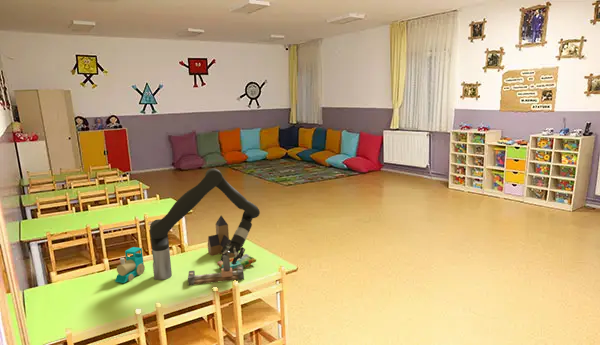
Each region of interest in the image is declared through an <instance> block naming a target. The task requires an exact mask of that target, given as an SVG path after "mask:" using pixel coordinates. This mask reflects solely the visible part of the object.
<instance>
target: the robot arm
mask: <svg viewBox="0 0 600 345" xmlns="http://www.w3.org/2000/svg"><path fill="white" fill-rule="evenodd" d="M215 187H216V188H218V189H219V190H220V191H221V192H222V194H224V195H225V196H226V198H228V200H230V201H231V203H233V204H234V206H235V207H237V208H238V209H239V210H243V212H242V216H241V221H240V222H239V225H238V226H237V228H236V230H235V231H234V233H233V236H232V237H231V239H230V240H231V243H230V244H227V243H225V245H224V247H223V249H222V250H221V252H222V253H223V255H227V254H230V253H234V254H235V257H234V259H233V261H232V264H233V265H235V264H236V262H237V260H238V259H239V258H240V259H241V258H242V256H243V255H244V254H245V251H246V248H245V247H244V245H245V242H246V240H247V237H248V235H249V233H250V230H251V229H252V226H253V224H252V221H253V219H256V218H258V217H259V216H260V214H261V212H260V209H259V207H258V206H257V205H256V204H254V203H253V202H252V201H250V200H248V199H247V198H246V197H245V196H244V195H243V194H241V192H239V191H238V190H237V189H236V188H235V187H234V186H232V185H231V184H230V183H229V182H228V181H227V179H225V177H224V175H223V173H222V172H221V170H219V169H218V168H215V167H214V168H209V169H207V171H206V172H205V175H204V177H203V178H202V180H200V182H199V183H198V184H196V185H195V186H194V187H192V188H191V189H189V190H188V191H186V192H185V193H184V194H182V195H181V196H180V197H179V198H178V199H177V200H176V201H175V202H174V204H173V205H172V207H171V208H170V209H169V211H168V213H167V214H165V215H164V217H162V218H160V219H158V218H157V219H155V220H152V222H151V223H150V225H149V233H150V243H151V251H152V252H151V254H152V261H153V262H152V270H153V279H154V280H167V279H170V278H171V277H172V274H173V272H172V263H171V255H170V254H171V253H170V252H171V251H170V242H169V232H170V231H171V230H172V228H174V226H175V225H176V224H177V223H179V221H181V220H182V219H183V218H184V217H185V216H186V215H188V214H189V213H190V212H191V211H192V210H193V209H194V208H195V207H196V206H197V205H198V204H199V203H200V202H201V200H202V199H204V197H205V196H206V195H207V194H208V193H210V192H211V191H212V190H213V189H214V188H215ZM228 250H229V251H228ZM226 252H227V253H226ZM223 255H221V256H220V261H222V262H223ZM240 255H241V256H240Z"/></svg>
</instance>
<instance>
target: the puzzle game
mask: <svg viewBox="0 0 600 345" xmlns="http://www.w3.org/2000/svg"><path fill="white" fill-rule="evenodd" d="M240 256H241V255H240ZM233 259H234V257H233V258H229V260H230V268H232V271H238V269H237V266H240V265H243V269H244V268H248V267H250V266H252V264H254V263H256V262H257V259H256V258H254V257H253V256H252V255H249V254H248V253H244V254H243V256H242V258H241V259H240V258H239V259H238V260H237V262H236V264H235V265H233V264H232V261H233ZM216 264H217V265H218V267H219V269H222V268H223V262H222V261H221V260H219V261H217V262H216Z"/></svg>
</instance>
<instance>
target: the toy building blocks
mask: <svg viewBox="0 0 600 345" xmlns="http://www.w3.org/2000/svg"><path fill="white" fill-rule="evenodd" d="M225 243H227V244H230V243H231V239H230V235H229V224H228V223H227V221H226V220H225V219H224V217H223V215H220V216H219V217H218V219H217V221H216V222H215V234H211V235H208V237H207V253H208V254H209V255H210V257H213V256H217V255H221V256H222V255H223V253H222V252H221V250H222V249H223V247H224V245H225ZM228 251H229V250H228ZM226 253H227V252H226ZM227 255H229V258H233V257H235V254H234V253H230V254H227Z"/></svg>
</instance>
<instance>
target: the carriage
mask: <svg viewBox="0 0 600 345" xmlns="http://www.w3.org/2000/svg"><path fill="white" fill-rule="evenodd" d="M220 269H221V268H220ZM220 273H222V277H231V276H233V272H232V268H230V260H229V255H223V268H222V269H221V271H220Z"/></svg>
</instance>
